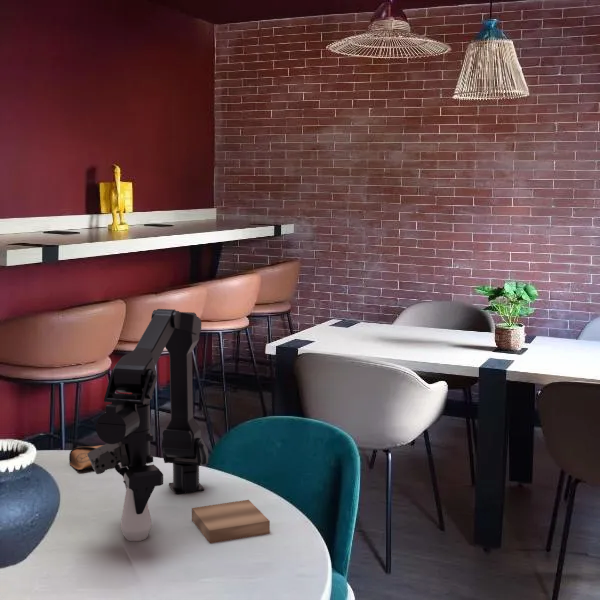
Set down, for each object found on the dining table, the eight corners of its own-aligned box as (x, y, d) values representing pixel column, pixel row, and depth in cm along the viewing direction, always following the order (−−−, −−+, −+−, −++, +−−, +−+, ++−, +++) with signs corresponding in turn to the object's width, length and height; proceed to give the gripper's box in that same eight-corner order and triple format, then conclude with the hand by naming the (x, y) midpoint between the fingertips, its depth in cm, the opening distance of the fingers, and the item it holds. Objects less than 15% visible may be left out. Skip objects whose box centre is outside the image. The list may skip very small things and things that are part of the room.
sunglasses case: (79, 469, 193) (74, 441, 196) (72, 479, 199) (67, 452, 201) (153, 459, 203) (148, 433, 205) (144, 469, 208) (139, 443, 211)
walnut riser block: (192, 522, 169) (191, 508, 169) (248, 513, 174) (248, 499, 174) (209, 545, 158) (209, 530, 158) (269, 535, 163) (269, 520, 163)
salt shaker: (148, 543, 158) (147, 476, 156) (118, 543, 158) (116, 476, 156) (154, 530, 164) (153, 466, 162) (124, 530, 164) (123, 465, 162)
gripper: (82, 420, 163) (84, 497, 165) (100, 447, 146) (102, 533, 148) (139, 414, 168) (140, 490, 170) (163, 440, 151) (164, 524, 153)
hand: (136, 508), depth 160 cm, fingers open, 5 cm apart
